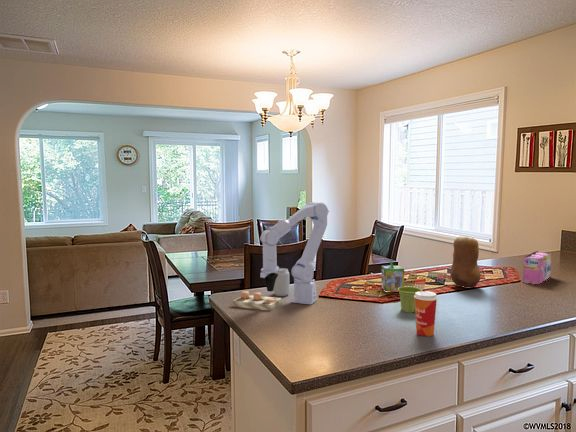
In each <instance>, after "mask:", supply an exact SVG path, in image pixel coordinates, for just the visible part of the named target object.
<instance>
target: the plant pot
mask: <svg viewBox="0 0 576 432" xmlns="http://www.w3.org/2000/svg"><path fill="white" fill-rule="evenodd" d="M398 291H399V293H398V294H399V301H400V307H401V311H403V312H405V313H416V311H415V298H414V295H415V293H416V292H418V291H419V292H420V291H423V290H422V289H421V288H419V287H416V286H404V287H399V288H398Z"/></svg>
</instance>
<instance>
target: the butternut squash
mask: <svg viewBox="0 0 576 432" xmlns="http://www.w3.org/2000/svg"><path fill="white" fill-rule="evenodd" d="M479 250H480V249H479V242H478V240H477V239H476V238H474V237H470V236H469V237H468V236H458V237H456V238H455V239H454V241H453V253H452V264H451V267H450V269H449V270H450V271H449V274H450V278H451V280H452V282H453V284H455V286H458V285H460V286H459V287H461V286H464V287H471V288H474V287H477V285H478V283H480V281H481V276H482V275H481V271H480V268H479V266H478V259H479Z"/></svg>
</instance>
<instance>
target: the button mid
mask: <svg viewBox="0 0 576 432" xmlns="http://www.w3.org/2000/svg"><path fill="white" fill-rule="evenodd" d="M252 295H253V300H254V301H261V296H262V292H259V291H258V292H257V291H256V292H253V294H252Z"/></svg>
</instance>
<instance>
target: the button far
mask: <svg viewBox="0 0 576 432" xmlns="http://www.w3.org/2000/svg"><path fill="white" fill-rule="evenodd" d="M249 295H250V291H248V290H247V291H246V290H242V291H241V292H240V297H241V299H244V300H247V299H249Z"/></svg>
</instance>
